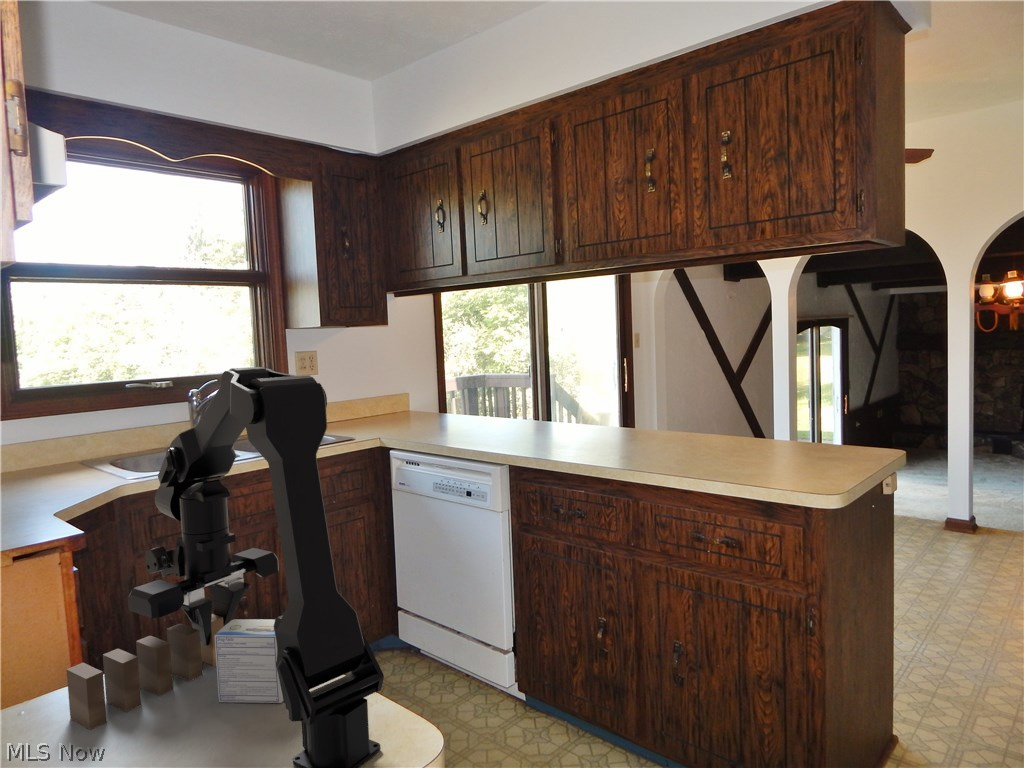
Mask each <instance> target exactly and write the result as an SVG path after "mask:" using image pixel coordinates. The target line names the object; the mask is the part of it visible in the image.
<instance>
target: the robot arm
mask: <svg viewBox="0 0 1024 768" xmlns="http://www.w3.org/2000/svg"><path fill="white" fill-rule="evenodd" d="M327 399H328V397H327V393H326V391H325V389H324V387H323V386H322V384H321V383H320V382H318V381H317V380H316V379H315V378H314V377H313V376H311V375H295V374H288V373H283V372H279V371H274V370H273V369H270V368H265V367H264V366H252V367H251V366H250V367H237V368H235V367H233V368H230V369H229V370H225V371H223V373H222V375H221V377H220V387H218V390H217V392H216V393H215V395H214V397H213V398H212V400H211V401H210V402H209V405H208V406H207V408H206V409H205V411H204V412H203V414H202V416H201V418H200V419H199V420H198V423H197V424H196V425H195V426H193V427H191V428H189V429H186V430H184V431H182V432H179V433H178V435H177V436H176V437H175V438H174V439H173V440H172V441H171V443H170V444H169V447H168V448H167V450H166V452H165V456H164V459H163V462H162V464H161V465H160V469H159V472H158V474H157V478H158V481H159V486H158V488H157V490H156V492H155V495H154V504H155V506H156V508H157V509H158V511H159V512H160V513H162V514H164V515H165V516H168V517H170V518H172V519H174V520H176V521H178V522H180V526H181V528H180V529H181V536H178V537H176V540H175V548H173V549H171V550H166V547H165V546H163V545H161V546H158V547H154V548H151V549H147V550H146V551H145V558H144V559H145V567H146V571H147V573H149V574H150V575H152V574H156V573H158V572H161V577H162V578H165V577H168V576H171V574H173V577H176V578H181V577H182V578H184V579H183V580H181V581H177V582H175V583H172V582H169V581H165V580H162V579H156V580H154V581H151V582H148V583H145V584H142V585H139V586H135V587H133V588H132V589H131V592H130V593H129V594H128V597H127V602H128V611H130V612H131V613H134V614H138V615H140V616H143V617H146V618H149V619H160V618H162V617H165V616H166V615H169V614H172V613H175V612H178V611H179V610H180V609H182V611H183V612H184V613H185V614H186V616H187V617H188V619H189V621H190V623H191V626H192V625H193V627H194V629H197V630H200V641H201V643H202V644H203V645H205V646H207V645H209V642H210V636H211V619H212V614H214V615H217V616H221V617H223V624H224V626H225V625H226V624H228V623H229V622H230V621H231V620H232V618H233V615H234V614H235V611H236V609H237V607H238V606H239V603H240V602H241V600H242V598H243V596H244V595H245V592H246V591H247V590H249V589H251V584H250V583H248V582H245V581H244V580H245V579H244V574H247V573H251V572H253V571H255V572H254V573H255V574H256V575H257V576H258V577H260V578H265V577H268V576H271V575H274V574H276V573H279V570H280V568H279V558H278V556H277V555H276V553H274V552H273V551H270V550H265V549H261V548H256V547H251V548H249V549H246V550H242V551H240V552H236V553H234V554H232V555H231V544H232V543H234V542H235V543H236V533H232V532H230V528H229V514H228V513H229V511H228V510H229V509H228V498H230V497H231V492H230V490H229V488H228V487H227V486H225V485H224V484H223V483H222V481H221V479H223V478H225V476H226V475H228V474H229V473H230V472H231V469H232V467H233V465H234V462H235V461H236V459H237V454H236V452H235V447H234V446H235V445H234V444H235V443H236V441H238V438H240V435H241V434H242V433H243V432H244V431H246V433H247V439H248V441H249V443H250V444H251V445H252V446H253V447H254V449H255V450H256V451H257V452H258V453H259V454H260V455H261V456H262V458H263V459H265V461H266V462H267V464H268V467H269V474H270V482H271V488H272V494H273V495H272V496H273V501H274V502H273V503H274V509H275V515H276V521H277V528H278V534H279V541H280V547H281V549H280V550H281V553H282V559H283V569H284V575H285V580H286V581H285V582H286V587H287V594H288V601H287V605H286V607H285V610H284V612H283V614H282V615H279V616H277V617H276V618H274V620H275V623H274V631H275V636H276V641H277V662H276V666H277V672H278V676H279V681H280V686H281V690H282V695H283V703H284V705H285V709H286V710H288V719H289V720H290V721H291V722H301V735H302V736H301V737H302V747H303V748H304V750H302V751H301V752H300V753H298V754H297V755H294V757H293V758H292V764H293V766H295V767H298V768H360V766H362V765H363V764H364V763H366V762H368V760H369V759H371V758H372V757H373V756H375V755H376V754H378V752H380V751H381V749H382V748H381V744H380V743H379V742H377V741H375V740H372V739H370V733H369V732H370V731H369V730H370V729H369V726H370V725H369V709H368V708H369V705H368V698H367V697H368V696H371V695H373V694H374V693H379V692H380V691H382V688H383V684H384V679H385V675H384V673H383V670H382V668H381V667H380V664H379V662H378V661H377V658H376V656H375V653H374V652H373V650H372V649H371V646H370V644H369V642H368V640H367V638H366V636H365V634H364V632H363V630H362V628H361V625H360V621H359V617H358V613H357V611H356V609H355V608H354V607H353V606H352V605H351V604H350V603H349V602H348V600H347V599H346V598H345V597H344V596H343V595H342V594H341V593H340V591H339V590H338V586H337V581H336V580H337V579H336V575H335V568H334V562H333V561H334V560H333V555H332V549H331V541H330V536H329V535H330V534H329V529H328V521H327V515H326V509H325V505H324V504H325V503H324V497H323V491H322V483H321V478H320V477H321V476H320V472H319V465H318V458H317V454H318V452H319V450H320V447H321V443H322V441H323V439H324V437H325V435H326V433H327V432H326V431H327V430H328V418H327V415H328V414H327V406H328V400H327ZM207 588H208V590H209V593H210V595H211V597H212V599H210V598H208V597H206V595H205V594H206V593H205V589H207ZM348 673H349V674H348ZM340 677H341V678H340ZM336 678H338V679H336ZM332 680H333V681H332ZM330 681H331V682H330ZM326 683H327V684H326ZM323 684H324V685H323ZM316 687H317V688H316ZM314 688H315V689H314ZM312 689H313V690H312ZM310 690H311V691H310Z"/></svg>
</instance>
